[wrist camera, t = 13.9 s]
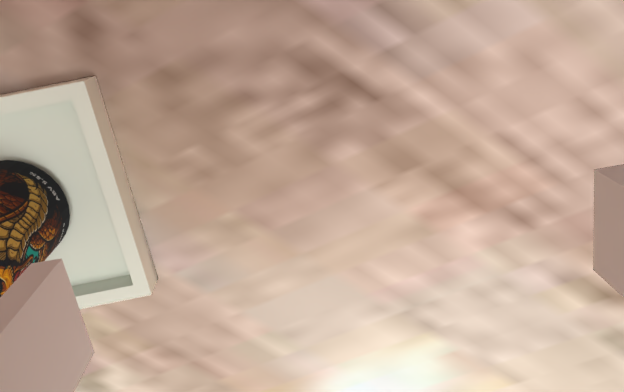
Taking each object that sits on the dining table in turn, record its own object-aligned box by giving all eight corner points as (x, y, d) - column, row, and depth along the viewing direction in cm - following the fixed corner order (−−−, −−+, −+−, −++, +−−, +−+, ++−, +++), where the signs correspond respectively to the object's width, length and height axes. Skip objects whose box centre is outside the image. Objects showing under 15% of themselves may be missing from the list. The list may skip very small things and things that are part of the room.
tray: (-131, 120, 38) (-158, 129, 35) (95, 75, 38) (83, 80, 35) (-42, 318, 42) (-61, 337, 40) (158, 278, 42) (151, 295, 40)
